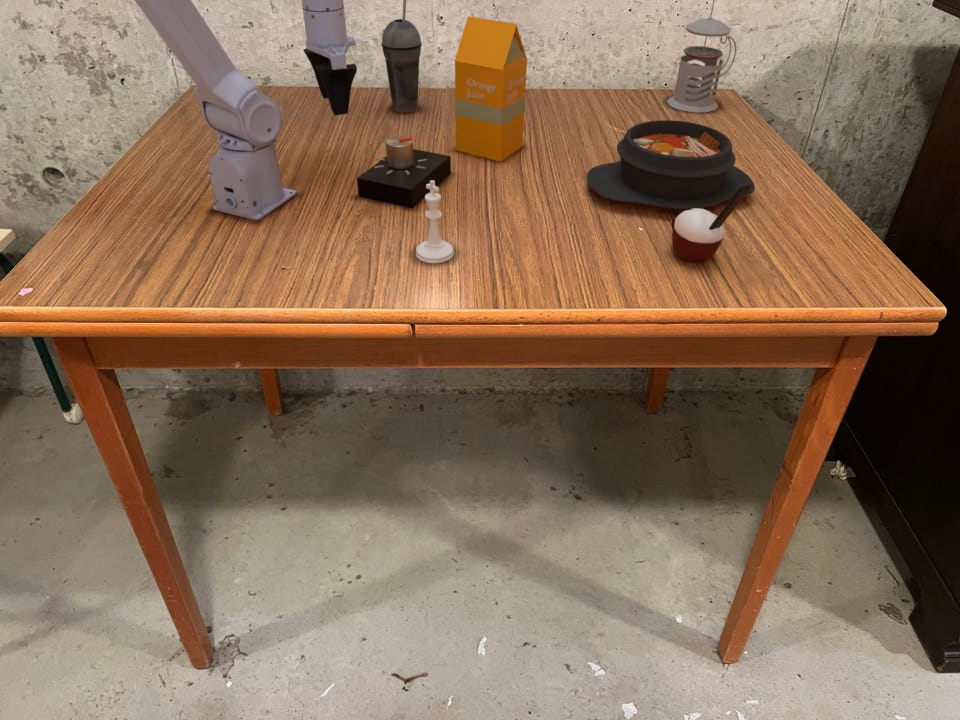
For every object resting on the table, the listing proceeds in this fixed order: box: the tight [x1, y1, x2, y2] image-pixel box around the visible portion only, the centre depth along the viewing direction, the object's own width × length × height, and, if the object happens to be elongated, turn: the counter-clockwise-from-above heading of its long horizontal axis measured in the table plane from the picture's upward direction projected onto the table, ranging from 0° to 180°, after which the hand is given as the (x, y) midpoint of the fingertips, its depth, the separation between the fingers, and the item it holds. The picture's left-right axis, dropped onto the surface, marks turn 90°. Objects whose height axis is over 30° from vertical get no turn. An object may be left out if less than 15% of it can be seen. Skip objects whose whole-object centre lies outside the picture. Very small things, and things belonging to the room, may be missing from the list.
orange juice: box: [454, 15, 528, 163], centre depth 110 cm, size 8×9×20 cm
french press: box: [666, 0, 737, 113], centre depth 127 cm, size 10×12×25 cm
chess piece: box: [415, 180, 455, 264], centre depth 86 cm, size 5×5×10 cm
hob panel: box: [356, 148, 452, 209], centre depth 104 cm, size 13×10×3 cm
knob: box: [385, 135, 414, 169], centre depth 102 cm, size 4×4×4 cm
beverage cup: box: [380, 0, 423, 114], centre depth 124 cm, size 7×7×20 cm
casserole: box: [586, 119, 756, 210], centre depth 101 cm, size 25×19×8 cm
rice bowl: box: [670, 185, 751, 263], centre depth 85 cm, size 10×6×12 cm, turn 6°
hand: (335, 105), depth 104 cm, fingers open, 7 cm apart
